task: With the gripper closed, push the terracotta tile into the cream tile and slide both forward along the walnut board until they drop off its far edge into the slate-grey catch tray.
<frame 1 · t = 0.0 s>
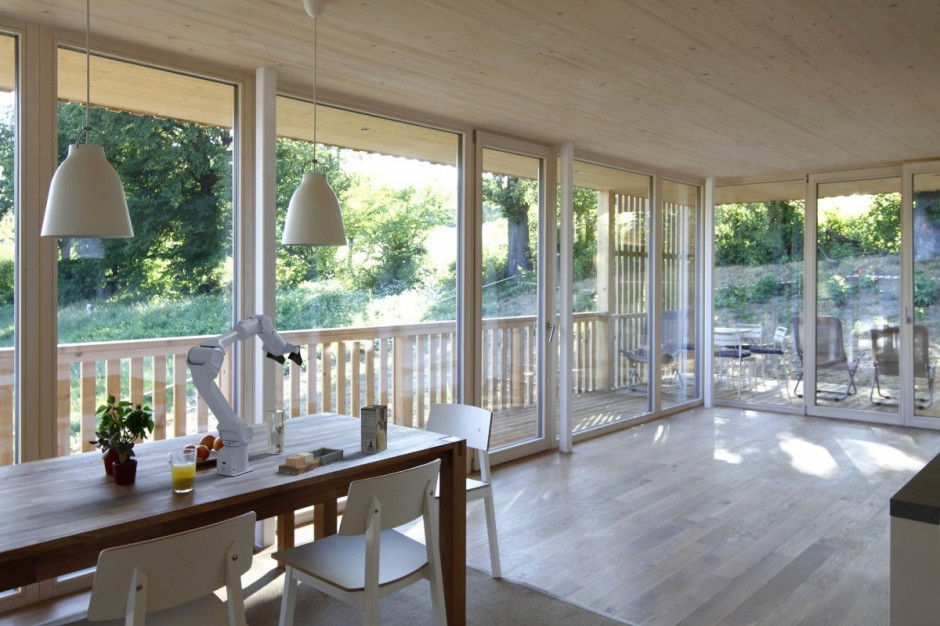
hand: (292, 362, 259), 32 cm above the table, tool tilted 50°, fingers open, 7 cm apart
board: (300, 469, 240), on the table
tile cream: (304, 461, 241), point 2 cm above the table, touching board
beer glass: (275, 453, 262), on the table
coffee box: (374, 451, 267), on the table
tray: (322, 461, 251), on the table
tile terracotta: (294, 465, 237), point 2 cm above the table, touching board
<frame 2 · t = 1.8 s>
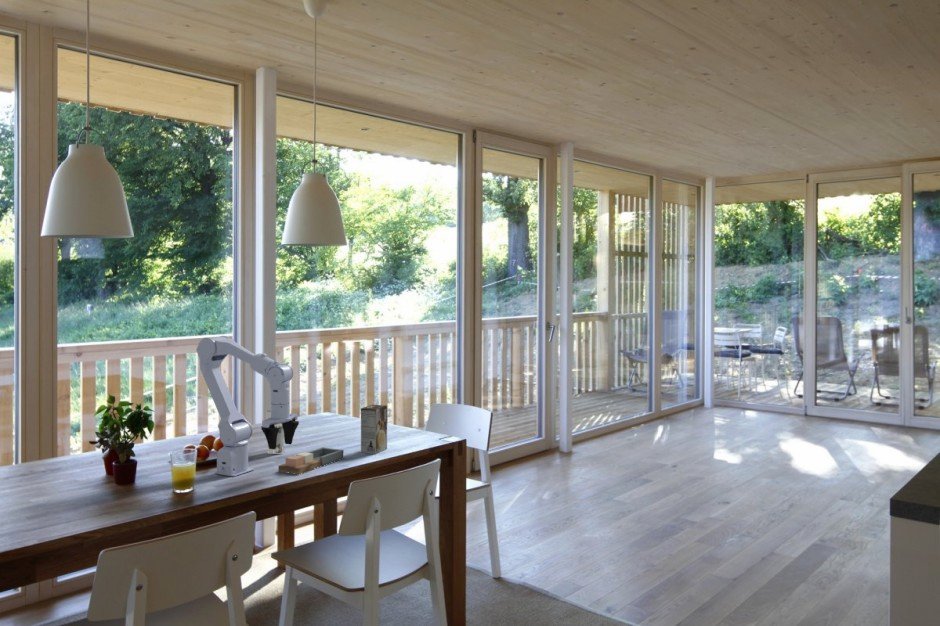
hand: (280, 446, 230), 9 cm above the table, tool pointing down, fingers open, 7 cm apart
nothing on the table moved.
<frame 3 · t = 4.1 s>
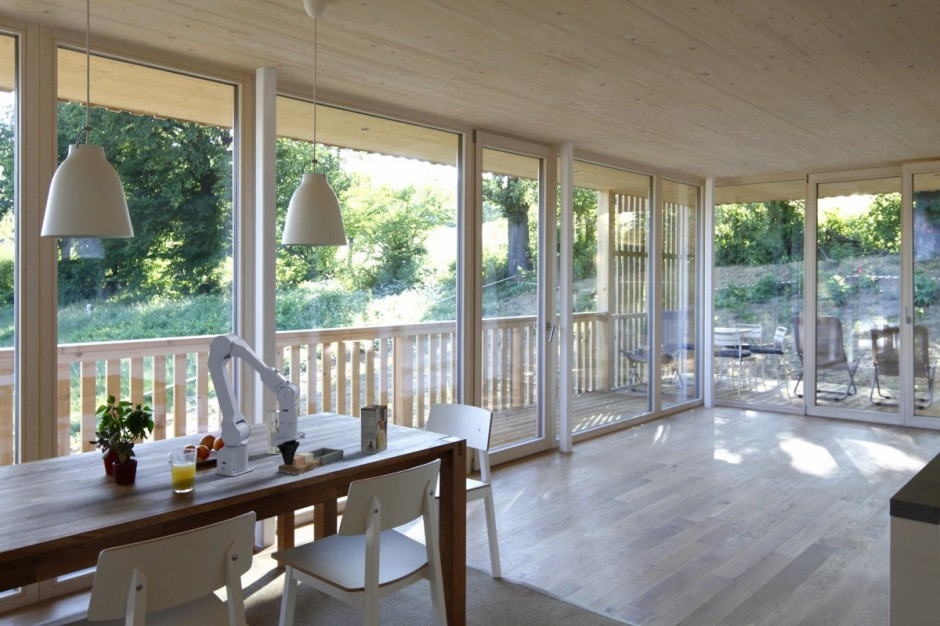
hand: (288, 464, 234), 3 cm above the table, tool pointing down, fingers closed
tile terracotta: (294, 465, 237), point 2 cm above the table, touching gripper
everything else where it was.
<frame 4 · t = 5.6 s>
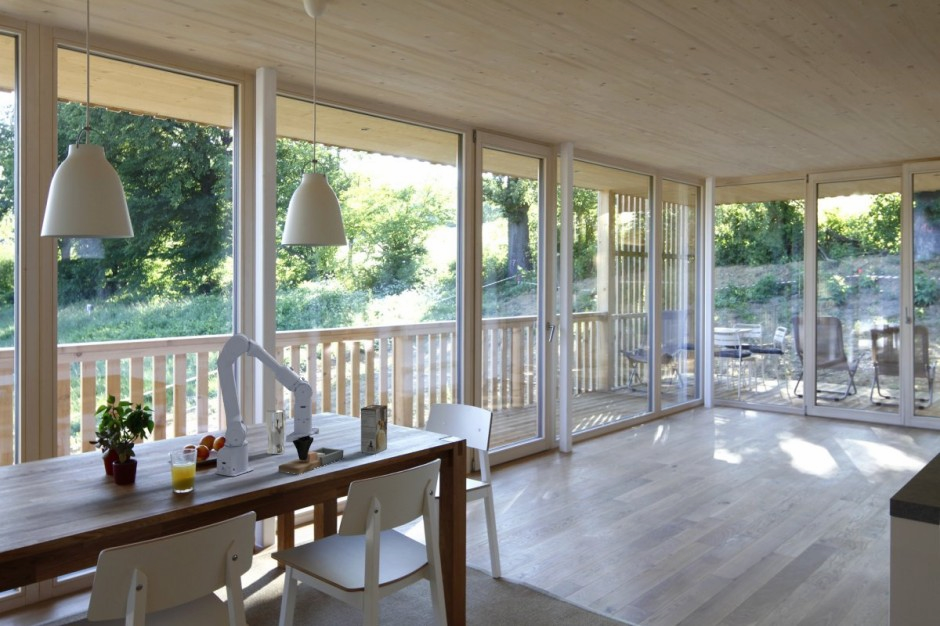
hand: (302, 459, 241), 3 cm above the table, tool pointing down, fingers closed
tile cream: (316, 460, 247), point 1 cm above the table, tilted 9°, touching tray
tile terracotta: (308, 460, 244), point 2 cm above the table, touching board, gripper
everything else where it was.
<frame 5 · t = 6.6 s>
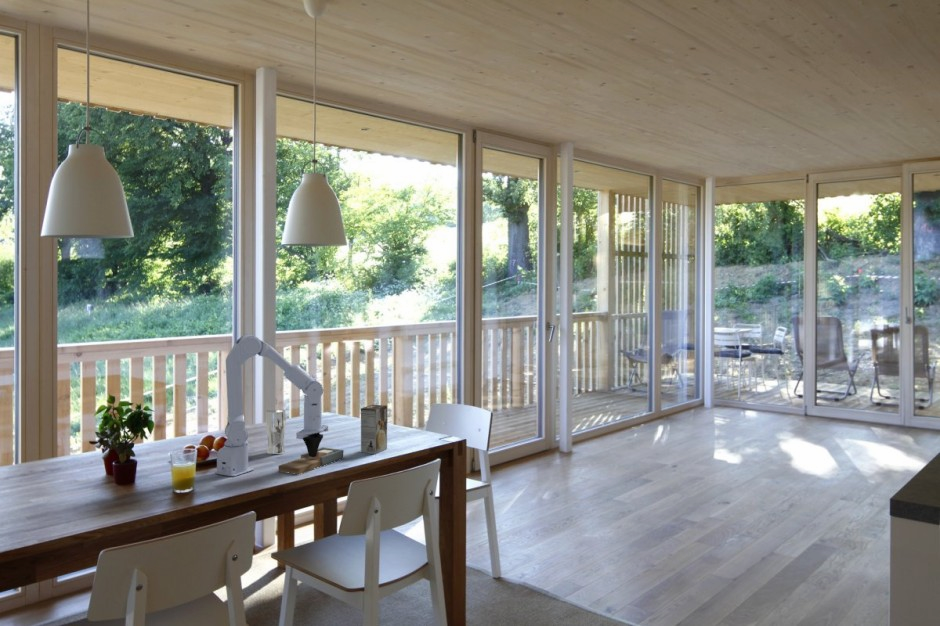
hand: (312, 456, 245), 3 cm above the table, tool pointing down, fingers closed
tile cream: (325, 458, 252), point 1 cm above the table, touching tile terracotta, tray
tile terracotta: (316, 459, 248), point 1 cm above the table, tilted 14°, touching gripper, tile cream
everything else where it was.
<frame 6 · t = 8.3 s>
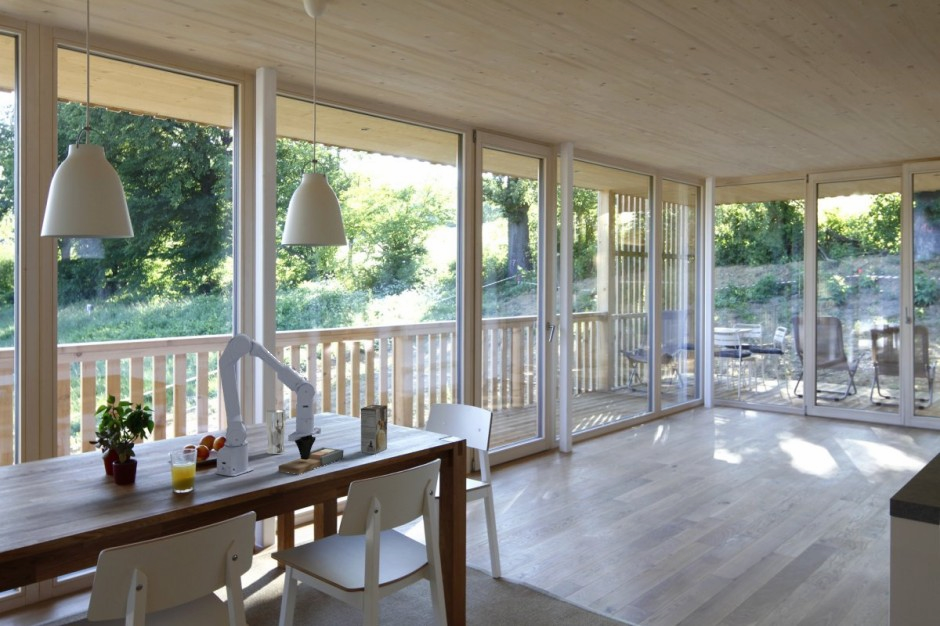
hand: (304, 459, 242), 3 cm above the table, tool pointing down, fingers closed
tile cream: (327, 457, 253), point 1 cm above the table, touching tray
tile terracotta: (318, 460, 249), point 1 cm above the table, touching tray
everything else where it was.
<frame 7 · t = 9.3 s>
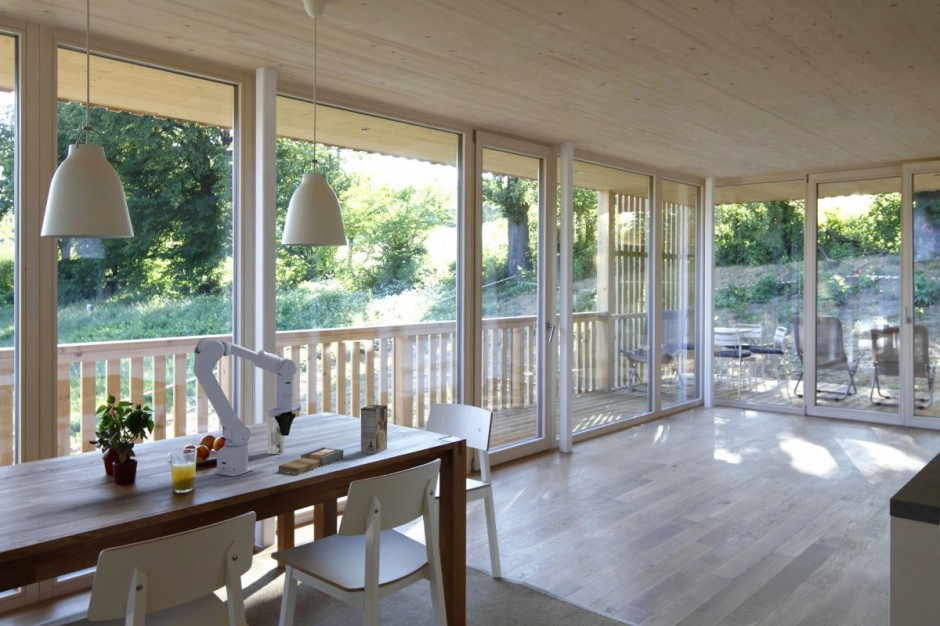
hand: (284, 435, 245), 10 cm above the table, tool pointing down, fingers closed
nothing on the table moved.
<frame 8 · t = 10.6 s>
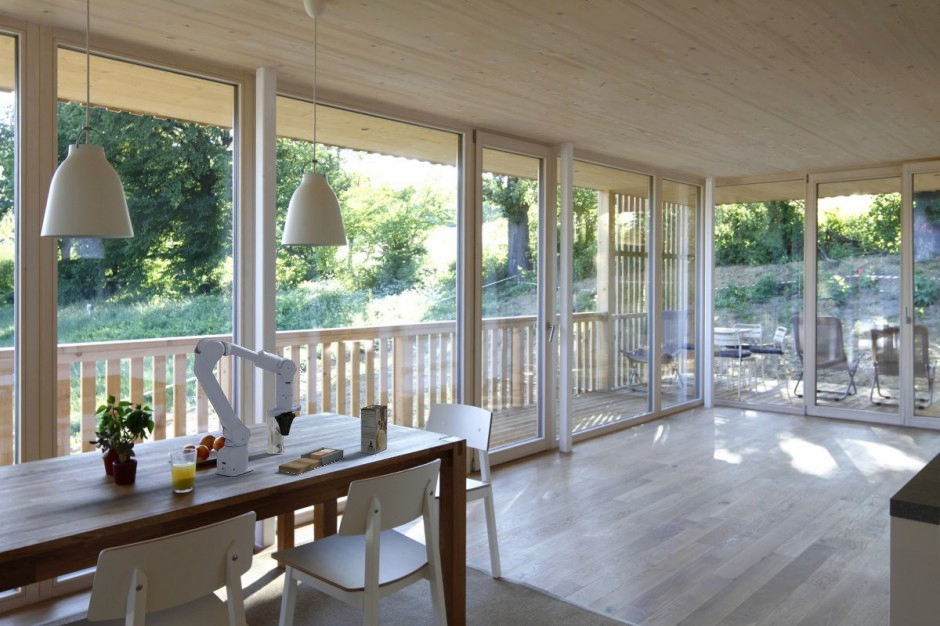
hand: (284, 435, 245), 10 cm above the table, tool pointing down, fingers closed
nothing on the table moved.
at the end: tile terracotta inside the target area on the tray (2.2 cm from its centre), point 0.6 cm above the tray's base; tile cream inside the target area on the tray (2.3 cm from its centre), point 0.6 cm above the tray's base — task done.
